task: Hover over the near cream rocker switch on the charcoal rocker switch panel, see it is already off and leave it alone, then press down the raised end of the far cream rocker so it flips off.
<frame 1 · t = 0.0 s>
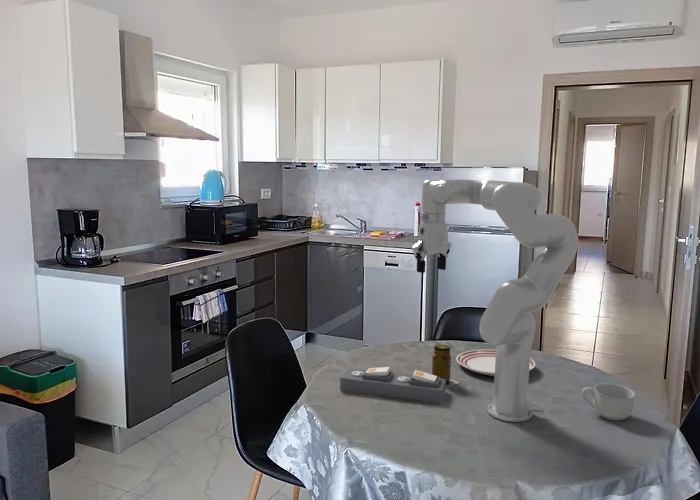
hand: (431, 270, 188), 37 cm above the table, tool pointing down, fingers open, 9 cm apart
teacup: (606, 415, 168), on the table
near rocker: (424, 376, 180), point 6 cm above the table, hinge at -10.0°
rocker switch panel: (392, 390, 184), on the table
far rocker: (377, 371, 184), point 6 cm above the table, hinge at 10.0°
dinner plate: (494, 369, 207), on the table
condiment: (442, 382, 192), on the table
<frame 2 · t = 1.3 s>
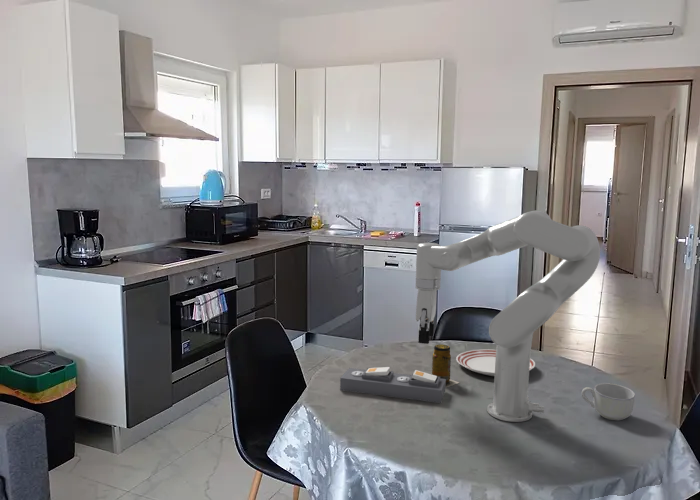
hand: (426, 338, 179), 18 cm above the table, tool pointing down, fingers open, 7 cm apart
nothing on the table moved.
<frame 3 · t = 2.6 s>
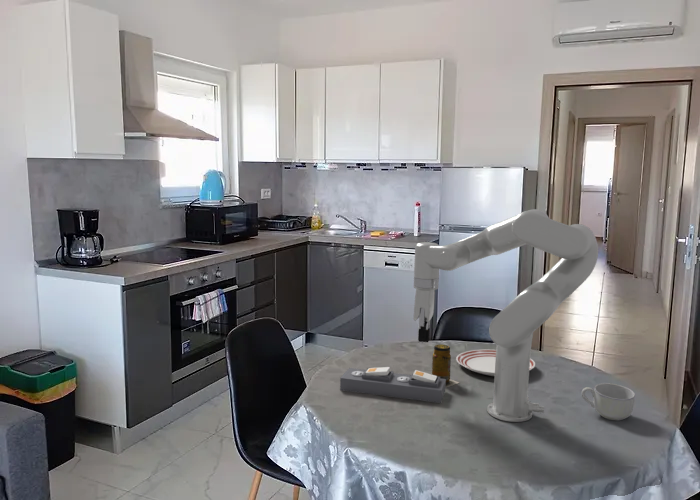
hand: (423, 341, 179), 17 cm above the table, tool pointing down, fingers closed
nothing on the table moved.
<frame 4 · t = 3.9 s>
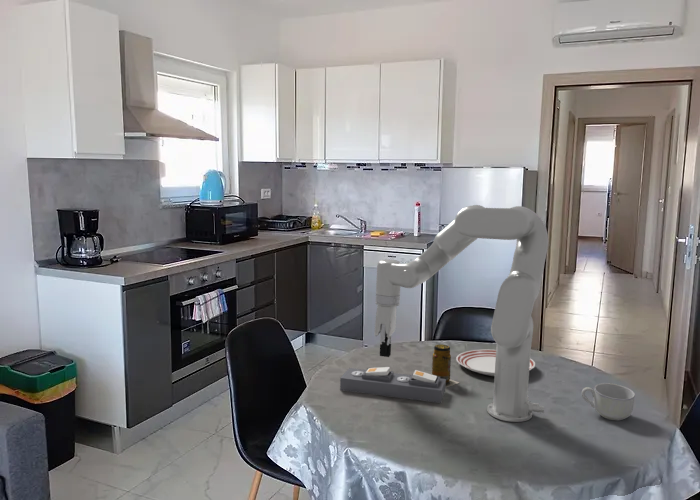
hand: (385, 355, 183), 11 cm above the table, tool pointing down, fingers closed
nothing on the table moved.
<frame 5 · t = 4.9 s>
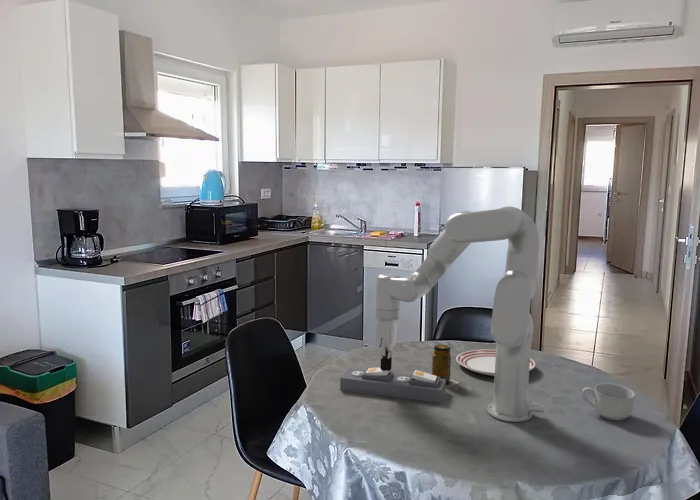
hand: (385, 369, 184), 7 cm above the table, tool pointing down, fingers closed
far rocker: (377, 371, 184), point 6 cm above the table, hinge at 9.9°, touching gripper
everything else where it was.
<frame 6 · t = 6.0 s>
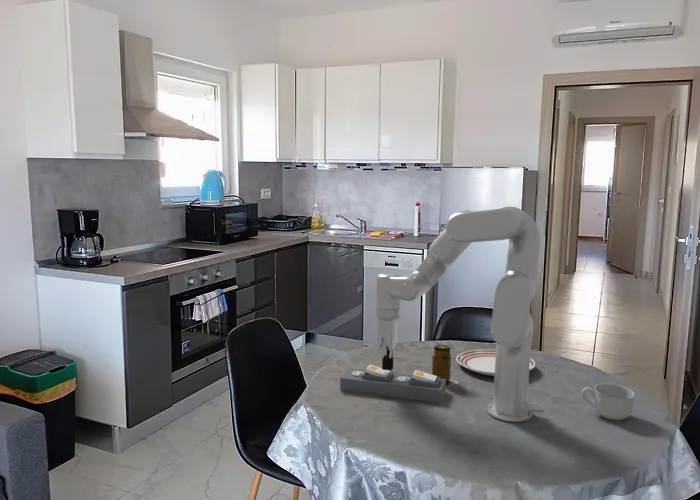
hand: (387, 369, 183), 7 cm above the table, tool pointing down, fingers closed
far rocker: (378, 371, 184), point 6 cm above the table, hinge at -11.6°
everything else where it was.
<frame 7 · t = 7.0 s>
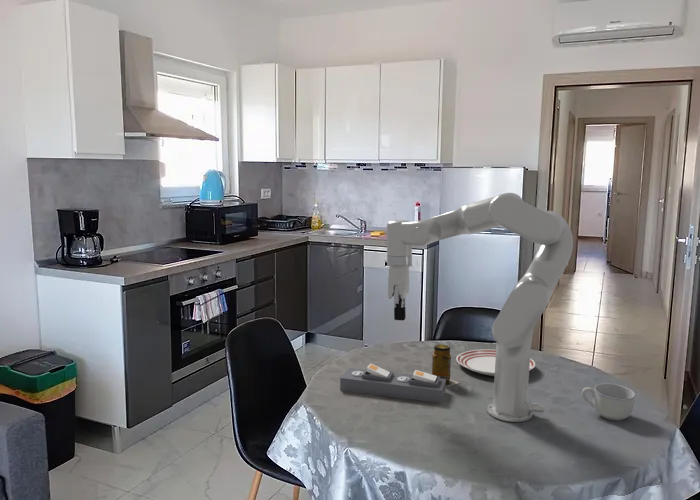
hand: (399, 319, 178), 24 cm above the table, tool pointing down, fingers closed
far rocker: (378, 371, 184), point 6 cm above the table, hinge at -19.0°, touching rocker switch panel
everything else where it was.
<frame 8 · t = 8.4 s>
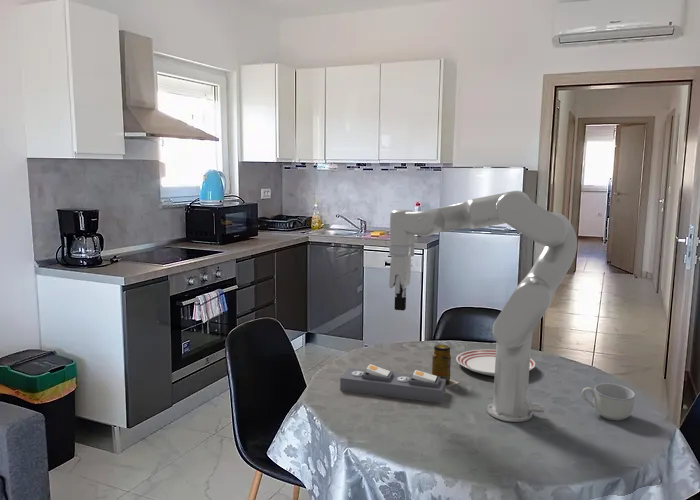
hand: (400, 309, 178), 27 cm above the table, tool pointing down, fingers closed
far rocker: (378, 371, 184), point 6 cm above the table, hinge at -14.1°
everything else where it was.
at the end: far rocker at -14° (first picture: +10°); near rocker at -10° (first picture: -10°); condiment moved 0.3 cm from its start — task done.
